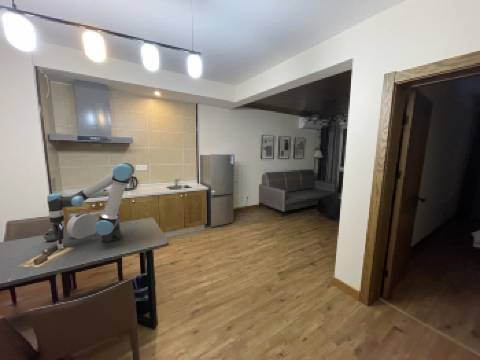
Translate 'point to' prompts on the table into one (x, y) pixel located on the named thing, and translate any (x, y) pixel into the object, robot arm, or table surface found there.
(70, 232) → the alarm clock
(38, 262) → the board
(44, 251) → the latch bar
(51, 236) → the mortar and pestle
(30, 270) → the table surface
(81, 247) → the table surface
